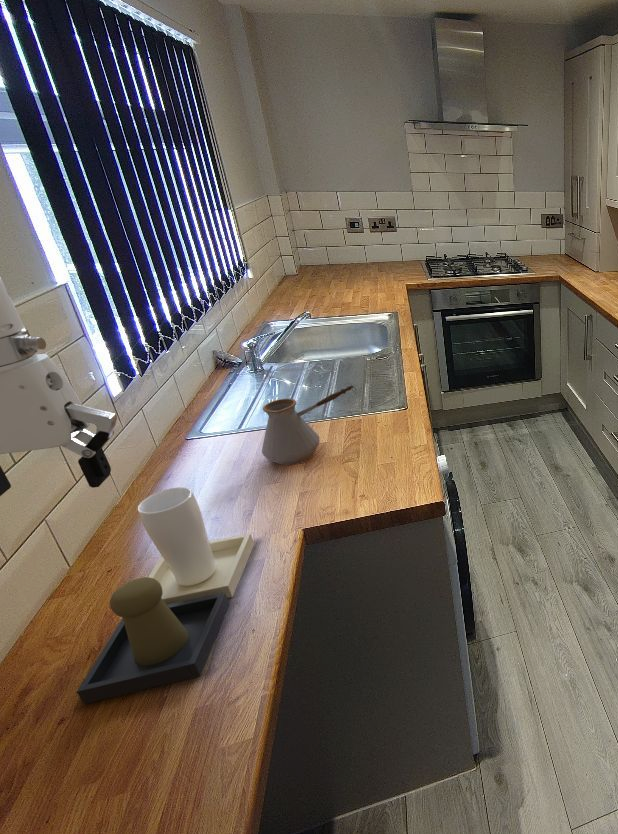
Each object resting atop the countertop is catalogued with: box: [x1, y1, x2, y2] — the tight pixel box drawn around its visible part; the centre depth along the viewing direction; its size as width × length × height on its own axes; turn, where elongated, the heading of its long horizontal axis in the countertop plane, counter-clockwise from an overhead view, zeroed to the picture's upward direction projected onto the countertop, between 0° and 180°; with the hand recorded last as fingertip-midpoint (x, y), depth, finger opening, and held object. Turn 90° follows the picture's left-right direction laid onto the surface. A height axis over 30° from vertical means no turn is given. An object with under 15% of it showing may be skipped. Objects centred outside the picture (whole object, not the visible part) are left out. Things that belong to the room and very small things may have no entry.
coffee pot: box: [261, 385, 358, 465], centre depth 117 cm, size 21×12×15 cm, turn 110°
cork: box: [109, 576, 189, 666], centre depth 70 cm, size 6×6×11 cm
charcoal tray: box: [76, 593, 230, 705], centre depth 72 cm, size 13×13×2 cm
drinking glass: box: [137, 486, 217, 586], centre depth 82 cm, size 7×7×15 cm
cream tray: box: [148, 533, 255, 605], centre depth 85 cm, size 13×13×2 cm
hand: (51, 488), depth 62 cm, fingers open, 9 cm apart
